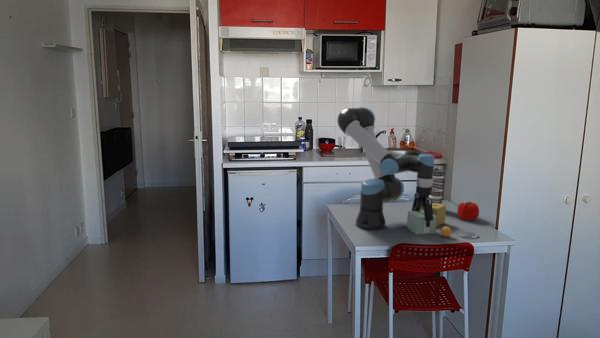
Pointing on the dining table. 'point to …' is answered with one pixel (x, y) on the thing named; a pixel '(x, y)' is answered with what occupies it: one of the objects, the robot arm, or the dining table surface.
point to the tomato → (468, 211)
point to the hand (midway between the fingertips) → (420, 229)
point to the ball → (446, 231)
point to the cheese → (438, 212)
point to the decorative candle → (437, 185)
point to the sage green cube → (419, 222)
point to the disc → (466, 234)
